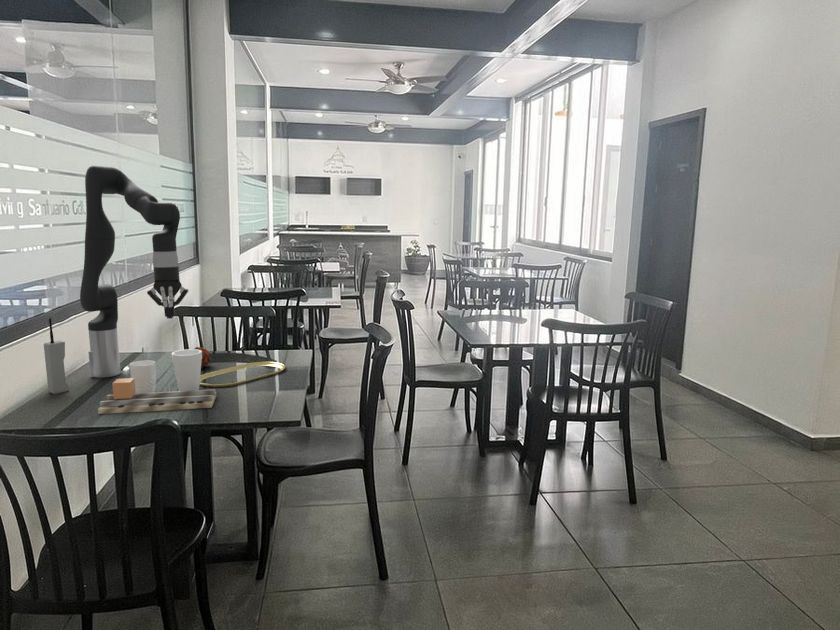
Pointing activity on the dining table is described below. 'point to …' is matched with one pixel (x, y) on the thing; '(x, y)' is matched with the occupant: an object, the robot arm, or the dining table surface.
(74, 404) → the dining table surface
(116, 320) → the robot arm
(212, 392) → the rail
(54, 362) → the vintage mobile phone
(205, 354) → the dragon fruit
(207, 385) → the gold oval ring
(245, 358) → the dining table surface
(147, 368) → the white cup
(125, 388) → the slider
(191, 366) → the foam cup
